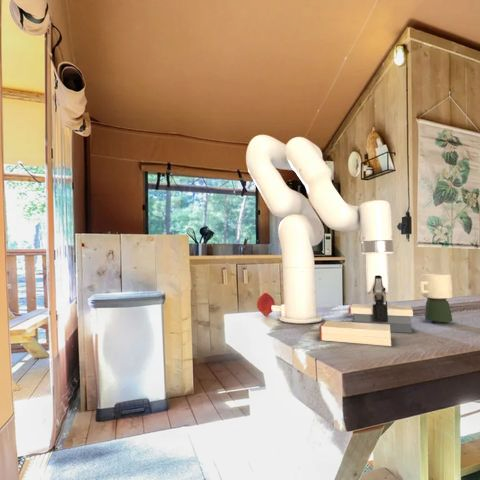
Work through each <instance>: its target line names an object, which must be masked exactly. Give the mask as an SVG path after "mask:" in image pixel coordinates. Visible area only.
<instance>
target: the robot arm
mask: <svg viewBox="0 0 480 480" xmlns="http://www.w3.org/2000/svg"><path fill="white" fill-rule="evenodd" d="M245 163H246V168H247V171H248V173H249V176H250V177H251V179H252V181H253V182H254V184H255V185H256V187H257V189H258V191H259V193H260V195H261V197H262V199H263V200H264V202H265V204H266V206H267V209H269V211H270V213H271V214H272V215H274V216H275V217H278V218H281V219H282V220H281V221H280V223H279V226H278V240H279V244H280V249H281V261H282V263H281V264H282V285H283V287H282V288H283V303H281V305H277V304H275V305H272V307H271V310H272V313H280V314H279V316H278V319H279V321H281V322H284V323H289V324H314V323H315V324H316V323H320V322H322V321H323V315H321V314H319V313H318V311H317V291H316V289H317V288H316V287H317V286H316V266H315V256H314V255H315V254H314V251H313V247H315V246H317V245H319V244H320V243H321V242H322V241H323V239H324V237H325V228H324V225H325V226H327V227H328V228H329V229H331V230H334V231H337V232H338V231H339V232H341V233H342V232H343V233H353V232H360V251H361V255H362V256H365V276H366V277H365V279H366V294H368V295H370V294H371V293H372V299H373V301H372V302H373V304H372V305H373V320H374V321H375V322H388V311H387V305H388V300H387V296H386V295H387V294H389V290H390V259H389V255H394V240H393V238H394V237H393V223H392V221H393V220H392V208H391V203H390V202H389V201H387V200H384V199H373V200H368V201H364V202H362V203H361V204H360V205H352V204H350V203H347V202H346V201H345V200H344V198H343V197H342V196H341V195H340V193H339V192H338V190H337V189H336V188H335V186H334V184H333V183H332V179H331V178H332V176H333V171H332V169H331V168H330V167H329V166H328V164H327V163H326V161H325V160H324V158H323V152H322V150H321V148H320V147H319V146H318V145H316V143H314V142H312V141H311V140H310V139H308V138H305V137H303V136H295V137H293V138H291V139H289V141H287V143H284V142H282V141H280V140H278V139H276V138H275V137H273V136H270V135H267V134H258V135H256V136H254V137H252V138H251V140H250V141H249V143H248V145H247V147H246V153H245ZM277 169H279V170H287V171H294V172H295V173H296V175H297V177H298V178H299V180H300V181H301V183H302V184H303V186H304V187H305V190H306V194H307V197H308V199H307V197H306V196H305V195H303V193H301V192H299V191H296V190H294V189H291V188H290V187H289V186H288V185H287V183H286V182H285V180H284V178H283V177H282V175H281V173H280V172H279V170H277ZM323 224H324V225H323Z"/></svg>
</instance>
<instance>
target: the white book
mask: <svg viewBox="0 0 480 480" xmlns="http://www.w3.org/2000/svg"><path fill="white" fill-rule="evenodd" d="M373 305H374V304H371V303H369V304H367V303H366V304H365V303H351V304H350V305H349V306H348V314H353V315H354V314H372V315H373ZM387 311H388V315H393V316H410V317H414V311H413V308H412V306H411V305H400V304H399V305H397V304H396V305H395V304H394V305H393V304H387Z"/></svg>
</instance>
